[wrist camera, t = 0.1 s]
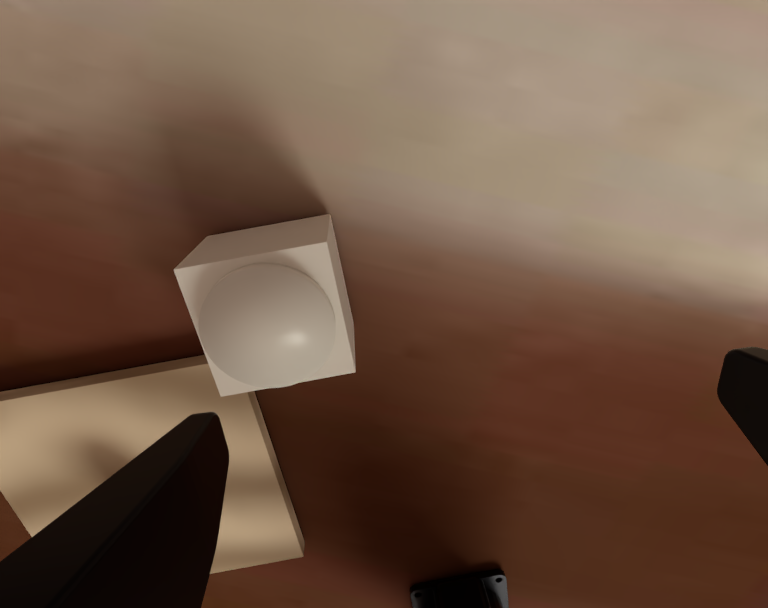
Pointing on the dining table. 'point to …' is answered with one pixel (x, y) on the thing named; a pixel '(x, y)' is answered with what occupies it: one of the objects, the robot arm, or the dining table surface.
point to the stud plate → (134, 435)
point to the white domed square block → (270, 305)
